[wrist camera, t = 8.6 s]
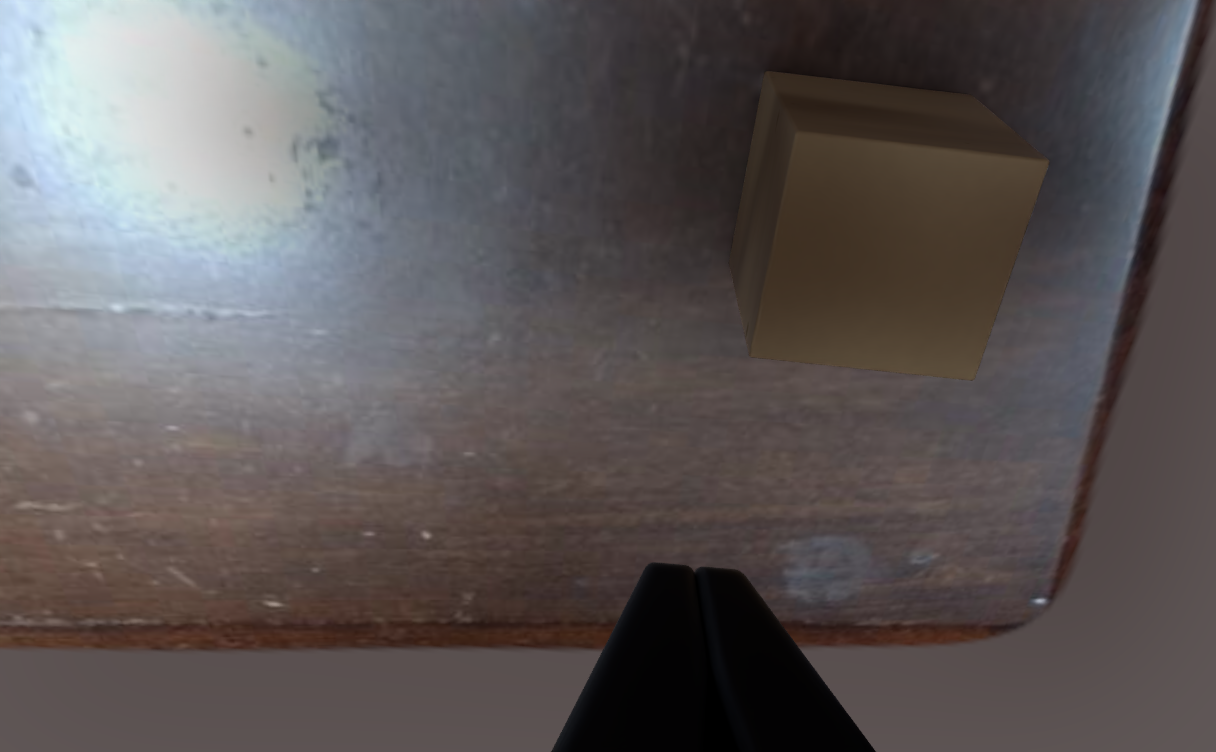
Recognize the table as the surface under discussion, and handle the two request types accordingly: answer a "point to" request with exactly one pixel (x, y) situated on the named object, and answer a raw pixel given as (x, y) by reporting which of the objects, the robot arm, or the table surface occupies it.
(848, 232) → the maple block
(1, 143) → the table surface
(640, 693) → the robot arm
